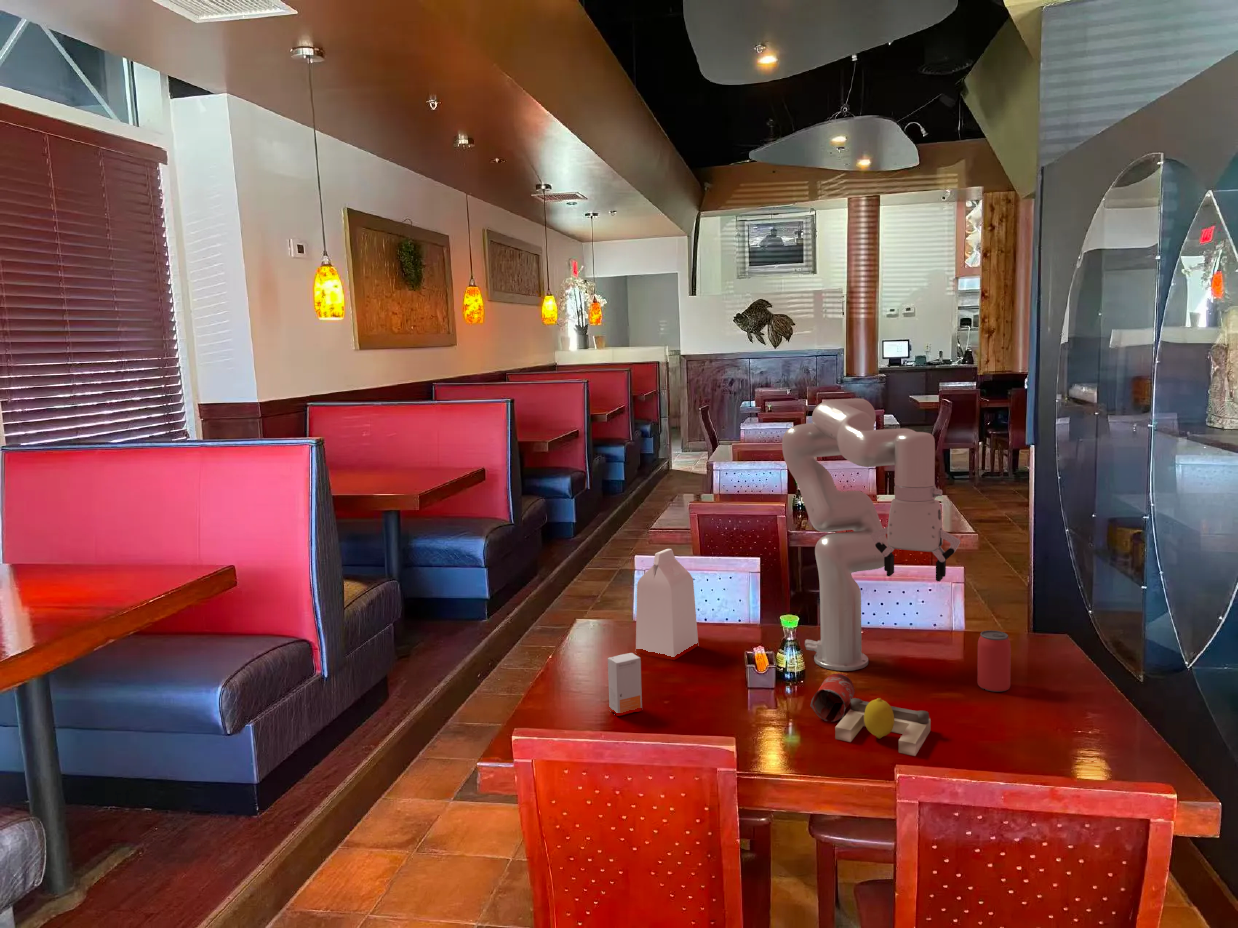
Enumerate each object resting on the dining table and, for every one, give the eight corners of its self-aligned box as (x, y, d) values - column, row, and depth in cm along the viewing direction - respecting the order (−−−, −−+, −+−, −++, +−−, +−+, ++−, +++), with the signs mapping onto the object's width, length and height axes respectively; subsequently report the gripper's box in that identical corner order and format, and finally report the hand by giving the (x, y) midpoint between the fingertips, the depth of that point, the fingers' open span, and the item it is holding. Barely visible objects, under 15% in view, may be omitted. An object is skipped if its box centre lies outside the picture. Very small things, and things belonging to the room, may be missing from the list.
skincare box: (618, 718, 175) (615, 663, 173) (609, 711, 178) (606, 657, 177) (643, 711, 177) (641, 657, 176) (633, 704, 181) (631, 651, 180)
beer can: (1013, 693, 178) (1014, 639, 177) (980, 692, 180) (981, 638, 178) (1005, 681, 185) (1006, 629, 183) (974, 680, 186) (974, 629, 185)
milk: (661, 639, 223) (657, 544, 220) (698, 646, 216) (695, 548, 213) (635, 653, 213) (631, 553, 210) (673, 661, 206) (670, 558, 203)
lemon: (887, 731, 163) (887, 691, 163) (898, 743, 158) (898, 703, 157) (860, 733, 163) (859, 693, 162) (870, 745, 158) (869, 705, 157)
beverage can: (857, 702, 178) (857, 672, 177) (845, 724, 167) (845, 693, 166) (823, 697, 181) (823, 667, 180) (810, 719, 171) (809, 688, 170)
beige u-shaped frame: (834, 738, 161) (834, 718, 161) (854, 715, 171) (853, 695, 171) (915, 756, 153) (915, 734, 152) (931, 730, 163) (931, 710, 162)
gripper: (964, 493, 165) (963, 577, 167) (876, 489, 175) (876, 568, 177) (956, 499, 159) (955, 586, 161) (865, 494, 168) (866, 577, 170)
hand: (914, 577), depth 169 cm, fingers open, 9 cm apart
